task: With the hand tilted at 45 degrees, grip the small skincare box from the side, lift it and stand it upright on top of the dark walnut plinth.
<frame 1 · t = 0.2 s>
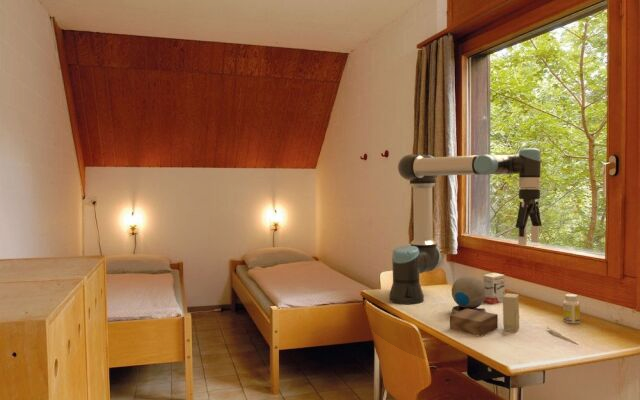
hand: (528, 244, 184), 28 cm above the table, tool pointing down, fingers open, 13 cm apart
skincare box: (511, 329, 169), on the table
webcam: (468, 314, 189), on the table
supplement bottle: (571, 322, 176), on the table
walnut plinth: (473, 328, 171), on the table
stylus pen: (562, 338, 159), on the table
ink box: (494, 302, 206), on the table
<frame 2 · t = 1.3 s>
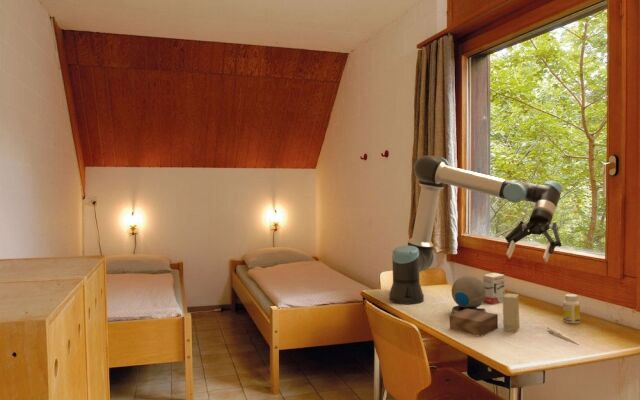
hand: (526, 258, 176), 24 cm above the table, tool tilted 45°, fingers open, 13 cm apart
nothing on the table moved.
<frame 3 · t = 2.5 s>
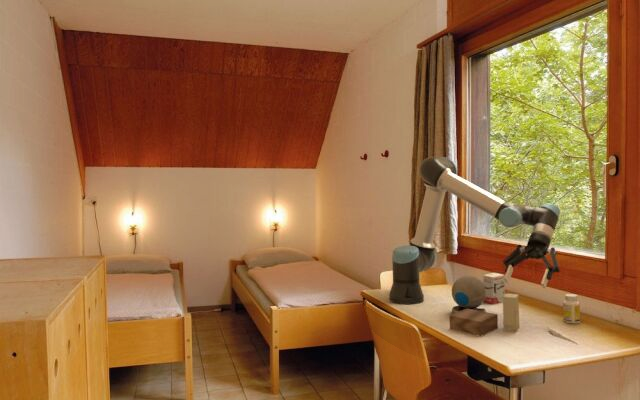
hand: (524, 283, 175), 15 cm above the table, tool tilted 45°, fingers open, 13 cm apart
nothing on the table moved.
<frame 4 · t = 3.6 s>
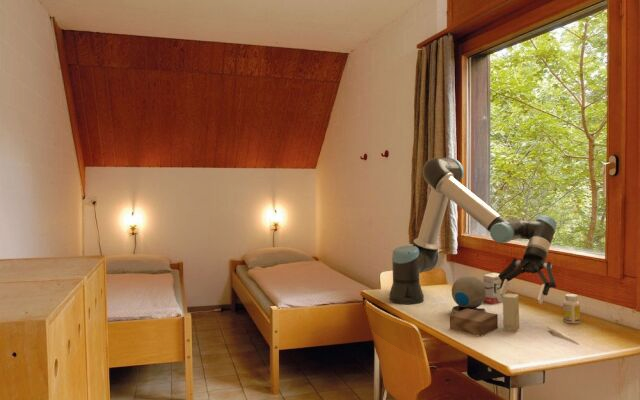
hand: (519, 298, 170), 10 cm above the table, tool tilted 45°, fingers open, 13 cm apart
nothing on the table moved.
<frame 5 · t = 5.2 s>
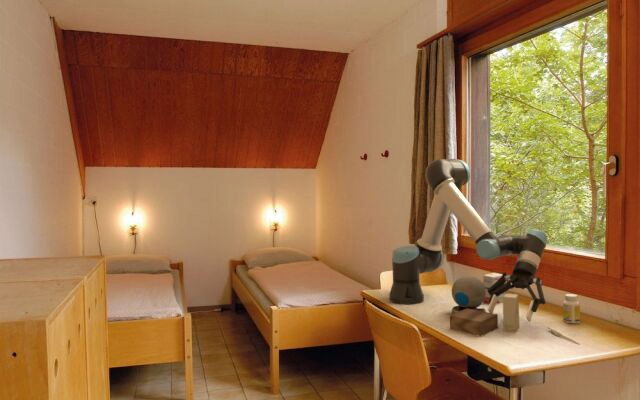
hand: (508, 315, 167), 6 cm above the table, tool tilted 45°, fingers open, 13 cm apart
nothing on the table moved.
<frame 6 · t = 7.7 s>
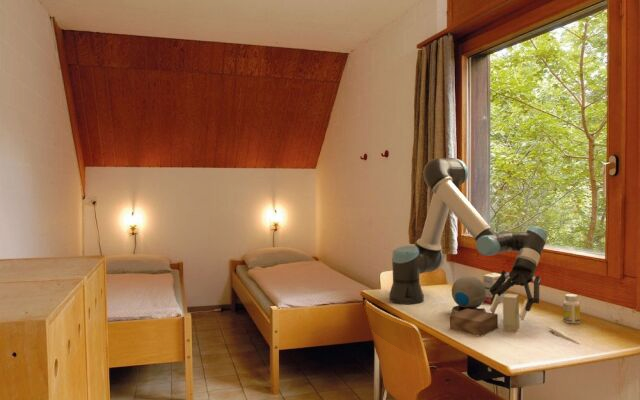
hand: (506, 314, 167), 6 cm above the table, tool tilted 45°, fingers open, 10 cm apart
nothing on the table moved.
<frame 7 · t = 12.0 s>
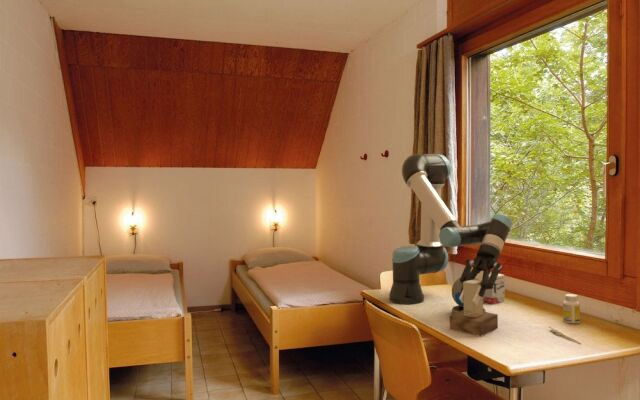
hand: (468, 301, 167), 10 cm above the table, tool tilted 45°, fingers closed on skincare box, 4 cm apart
skincare box: (473, 315, 170), point 5 cm above the table, touching gripper, walnut plinth
when the fingers open (10 cm above the table, at t = 12.4 s): skincare box stays where it is, resting on walnut plinth.
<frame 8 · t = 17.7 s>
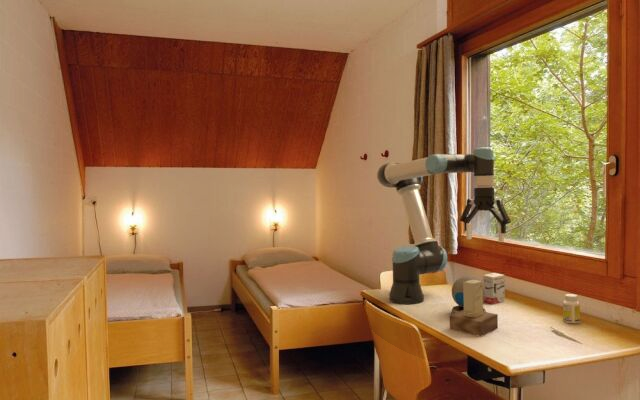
hand: (484, 240, 189), 29 cm above the table, tool pointing down, fingers open, 13 cm apart
skincare box: (473, 315, 170), point 5 cm above the table, touching walnut plinth
at the end: skincare box inside the target area on the walnut plinth (0.5 cm from its centre), point 4.8 cm above the walnut plinth's base; skincare box tilted 0°; the gripper is holding nothing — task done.
